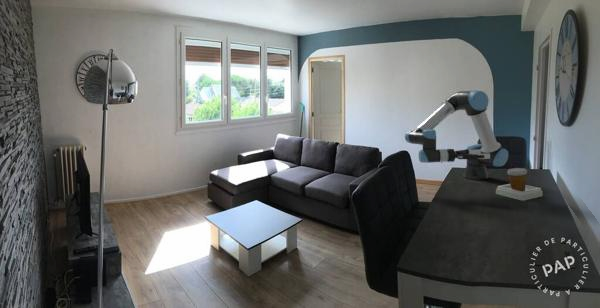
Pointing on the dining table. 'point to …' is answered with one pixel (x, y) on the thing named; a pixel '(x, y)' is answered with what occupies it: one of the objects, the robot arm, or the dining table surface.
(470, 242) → the dining table surface
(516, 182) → the disposable coffee cup
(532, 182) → the dining table surface
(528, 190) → the square rimmed tray
